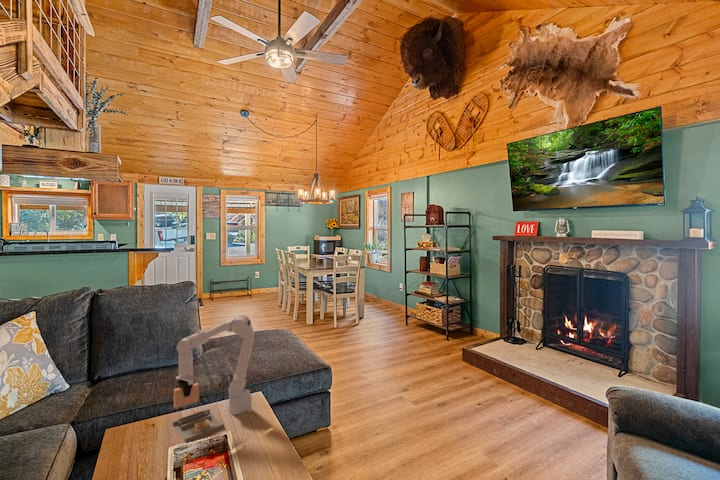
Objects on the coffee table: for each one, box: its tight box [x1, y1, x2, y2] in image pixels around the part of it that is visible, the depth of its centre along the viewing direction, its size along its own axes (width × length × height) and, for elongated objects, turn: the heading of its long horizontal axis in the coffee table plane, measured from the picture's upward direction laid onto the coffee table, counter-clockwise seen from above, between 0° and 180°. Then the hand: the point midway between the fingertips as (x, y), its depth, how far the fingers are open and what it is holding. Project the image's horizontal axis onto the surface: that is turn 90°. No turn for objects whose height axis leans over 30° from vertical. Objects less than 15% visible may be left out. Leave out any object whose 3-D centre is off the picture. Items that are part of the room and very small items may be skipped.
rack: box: [172, 408, 225, 444], centre depth 142 cm, size 15×17×2 cm
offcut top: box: [195, 419, 210, 431], centre depth 139 cm, size 5×4×2 cm
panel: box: [173, 382, 200, 410], centre depth 152 cm, size 10×2×8 cm, turn 134°
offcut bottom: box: [194, 423, 213, 433], centre depth 139 cm, size 6×4×2 cm, turn 142°
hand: (186, 395), depth 152 cm, fingers closed on panel, 2 cm apart
